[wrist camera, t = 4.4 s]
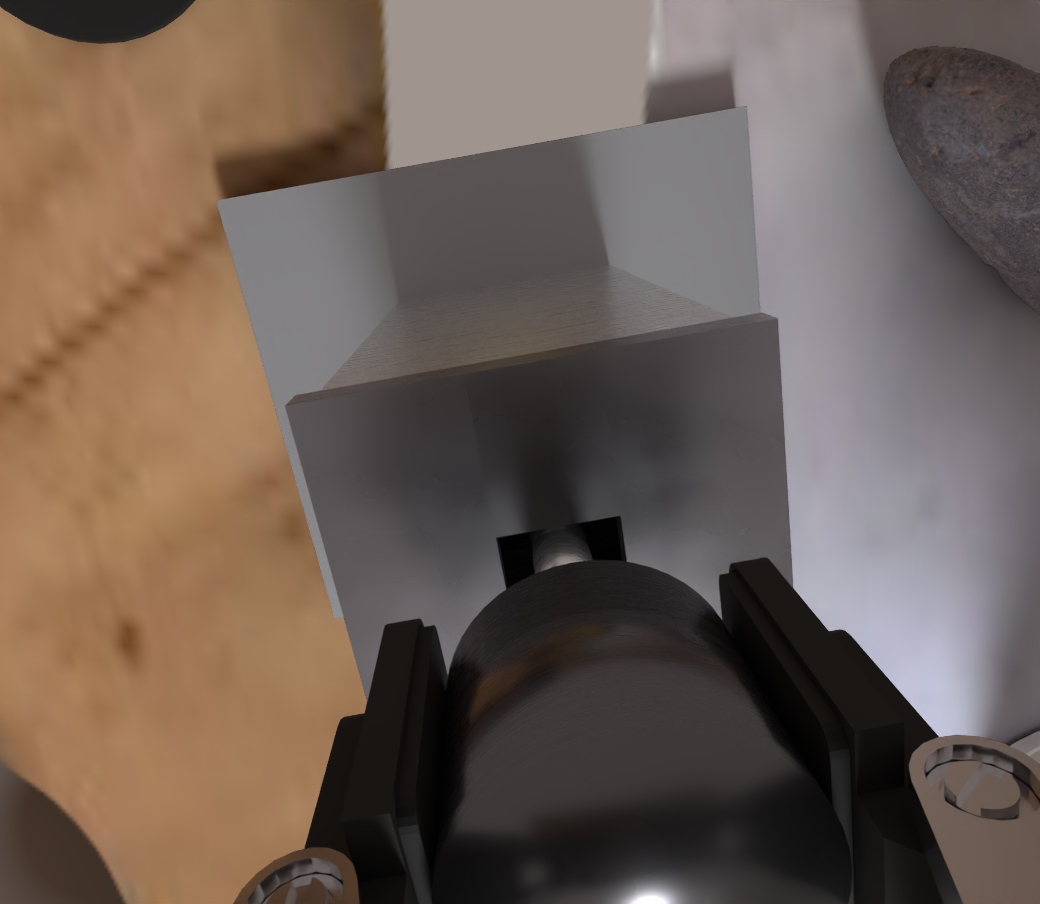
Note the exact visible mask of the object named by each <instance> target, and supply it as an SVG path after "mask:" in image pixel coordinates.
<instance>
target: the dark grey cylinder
mask: <svg viewBox="0 0 1040 904" xmlns="http://www.w3.org/2000/svg"><path fill="white" fill-rule="evenodd" d="M529 537H530V544H531V551H532V557H533V564H534V570H535V574H533V575H531V576H529V577H527V578H525V579H523V580H521V581H519V582H517V583H515V584H514V585H512V586H511V587H509V588H508V589H506V590H505V591H503V592H502V593H500V594H499V595H498V596H497V597H495V598H494V599H493V600H492V601H491V602H490V603H489V604H487V605H486V606H485V607H484V608H483V609H482V610H481V612H480V613H479V614H478V615H477V616H476V617H475V618H474V620H473V621H472V622H471V624H470V625H469V627H468V628H467V630H466V631H465V633H464V634H463V636H462V637H461V639H460V641H459V644H458V646H457V648H456V650H455V652H454V655H453V658H452V661H451V665H450V668H449V673H448V680H447V687H446V702H445V716H444V731H443V745H442V759H441V774H440V788H439V803H438V817H437V831H436V846H435V860H434V875H433V889H432V904H849V899H850V894H851V886H852V863H851V855H850V848H849V845H848V841H847V838H846V835H845V831H844V828H843V826H842V824H841V822H840V820H839V818H838V817H837V815H836V813H835V811H834V809H833V807H832V805H831V804H830V802H829V800H828V799H827V797H826V795H825V793H824V792H823V790H822V788H821V787H820V785H819V783H818V782H817V780H816V778H815V777H814V775H813V773H812V771H811V770H810V768H809V766H808V765H807V763H806V761H805V760H804V758H803V756H802V755H801V753H800V751H799V749H798V748H797V746H796V744H795V743H794V741H793V739H792V738H791V736H790V734H789V733H788V731H787V729H786V727H785V726H784V724H783V722H782V721H781V719H780V717H779V716H778V714H777V712H776V710H775V709H774V707H773V705H772V704H771V702H770V700H769V699H768V697H767V695H766V694H765V692H764V690H763V688H762V687H761V685H760V683H759V682H758V680H757V678H756V677H755V675H754V673H753V672H752V670H751V668H750V666H749V665H748V663H747V661H746V660H745V658H744V656H743V655H742V653H741V651H740V650H739V648H738V646H737V644H736V643H735V641H734V639H733V638H732V636H731V634H730V633H729V631H728V629H727V628H726V626H725V624H724V622H723V621H722V619H721V618H720V617H719V615H718V614H717V612H716V611H715V610H714V608H713V607H712V606H711V605H710V604H709V603H708V602H707V601H706V600H705V599H704V598H703V597H702V596H701V595H700V594H699V593H698V592H696V591H695V590H694V589H692V588H691V587H690V586H688V585H687V584H686V583H684V582H682V581H680V580H679V579H677V578H675V577H673V576H671V575H670V574H667V573H665V572H662V571H659V570H657V569H654V568H652V567H648V566H644V565H640V564H636V563H632V562H624V561H616V560H593V559H592V556H591V553H590V550H589V547H588V544H587V541H586V537H585V534H584V531H583V528H582V525H581V523H576V524H570V525H565V526H559V527H553V528H548V529H542V530H536V531H531V532H529Z"/></svg>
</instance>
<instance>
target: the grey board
mask: <svg viewBox="0 0 1040 904" xmlns="http://www.w3.org/2000/svg"><path fill="white" fill-rule="evenodd" d="M216 202H217V205H218V209H219V212H220V216H221V219H222V223H223V226H224V230H225V233H226V237H227V240H228V244H229V247H230V251H231V255H232V258H233V262H234V265H235V269H236V272H237V276H238V279H239V283H240V286H241V290H242V293H243V297H244V300H245V304H246V307H247V311H248V315H249V318H250V322H251V325H252V329H253V332H254V336H255V339H256V343H257V346H258V350H259V353H260V357H261V360H262V364H263V367H264V371H265V375H266V378H267V382H268V385H269V389H270V392H271V396H272V399H273V403H274V406H275V410H276V413H277V417H278V420H279V424H280V428H281V431H282V435H283V438H284V442H285V445H286V449H287V452H288V456H289V459H290V463H291V466H292V470H293V473H294V477H295V480H296V484H297V488H298V491H299V495H300V498H301V502H302V505H303V509H304V512H305V516H306V519H307V523H308V526H309V530H310V533H311V537H312V540H313V544H314V548H315V551H316V555H317V558H318V562H319V565H320V569H321V572H322V576H323V579H324V583H325V586H326V590H327V593H328V597H329V601H330V604H331V608H332V611H333V615H334V618H335V619H338V618H344V617H343V613H342V609H341V606H340V602H339V599H338V595H337V592H336V588H335V584H334V581H333V577H332V574H331V570H330V566H329V563H328V559H327V556H326V552H325V548H324V545H323V541H322V538H321V534H320V530H319V527H318V523H317V520H316V516H315V513H314V509H313V505H312V502H311V498H310V495H309V491H308V487H307V484H306V480H305V477H304V473H303V469H302V466H301V462H300V459H299V455H298V452H297V448H296V444H295V441H294V437H293V434H292V430H291V426H290V423H289V419H288V416H287V412H286V408H285V405H286V404H287V403H288V402H289V401H290V400H291V399H292V398H293V397H294V396H295V395H299V394H305V393H310V392H316V391H320V390H321V389H322V388H323V387H324V386H325V385H326V383H327V382H328V381H329V380H330V379H331V378H332V377H333V375H334V374H335V373H336V372H337V371H338V370H339V369H340V368H341V366H342V365H343V364H344V363H345V362H346V361H347V360H348V358H349V357H350V356H351V355H352V354H353V353H354V352H355V350H356V349H357V348H358V347H359V346H360V345H361V344H362V343H363V341H364V340H365V339H366V338H367V337H368V336H369V335H370V333H371V332H372V331H373V330H374V329H375V328H376V327H377V325H378V324H379V323H380V322H381V321H382V320H383V319H384V318H385V316H386V315H387V314H388V313H389V312H390V311H391V310H392V308H393V307H394V306H395V305H396V304H397V303H398V302H402V301H408V300H413V299H419V298H424V297H430V296H436V295H441V294H447V293H453V292H458V291H464V290H469V289H475V288H481V287H486V286H492V285H498V284H503V283H509V282H515V281H520V280H526V279H531V278H537V277H543V276H548V275H554V274H560V273H565V272H571V271H576V270H582V269H588V268H593V267H599V266H605V265H611V266H614V267H616V268H618V269H621V270H623V271H625V272H628V273H630V274H633V275H635V276H637V277H640V278H642V279H644V280H647V281H649V282H651V283H654V284H656V285H658V286H661V287H663V288H665V289H668V290H670V291H672V292H675V293H677V294H680V295H682V296H684V297H687V298H689V299H691V300H694V301H696V302H698V303H701V304H703V305H705V306H708V307H710V308H712V309H715V310H717V311H719V312H722V313H724V314H727V315H729V316H731V317H739V316H745V315H750V314H756V313H760V300H759V284H758V269H757V254H756V238H755V223H754V208H753V192H752V177H751V162H750V146H749V131H748V116H747V106H744V107H738V108H733V109H727V110H721V111H716V112H710V113H704V114H699V115H693V116H688V117H682V118H676V119H671V120H665V121H660V122H654V123H648V124H643V125H637V126H632V127H626V128H621V129H615V130H609V131H604V132H598V133H592V134H587V135H581V136H575V137H570V138H564V139H559V140H554V141H547V142H542V143H536V144H531V145H525V146H519V147H514V148H508V149H503V150H498V151H491V152H486V153H480V154H475V155H469V156H464V157H458V158H452V159H447V160H441V161H436V162H430V163H424V164H418V165H413V166H407V167H402V168H396V169H390V170H385V171H379V172H374V173H368V174H362V175H357V176H351V177H345V178H340V179H334V180H329V181H323V182H317V183H312V184H306V185H301V186H295V187H289V188H284V189H278V190H273V191H267V192H261V193H256V194H250V195H245V196H239V197H233V198H228V199H222V200H216Z"/></svg>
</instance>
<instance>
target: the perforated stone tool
mask: <svg viewBox="0 0 1040 904" xmlns="http://www.w3.org/2000/svg"><path fill="white" fill-rule="evenodd" d="M884 107H885V111H886V115H887V120H888V123H889V128H890V131H891V134H892V137H893V139H894V142H895V144H896V147H897V149H898V152H899V154H900V156H901V158H902V160H903V161H904V164H905V166H906V167H907V169H908V171H909V173H910V174H911V176H912V178H913V179H914V180H915V182H916V183H917V185H918V186H919V188H920V189H921V190H922V192H923V193H924V194H925V196H926V197H927V198H928V199H929V200H930V202H931V203H932V204H933V206H934V207H935V208H936V210H937V211H938V212H939V213H940V214H941V215H942V216H943V218H944V219H945V220H946V221H947V222H948V223H949V224H950V226H951V227H952V228H953V229H954V230H955V231H956V233H957V234H959V236H960V237H961V238H962V239H963V240H964V241H965V242H966V243H967V244H968V245H969V246H970V247H971V248H972V249H973V250H974V251H975V253H976V254H978V255H979V257H980V258H981V259H982V260H983V261H984V262H985V263H986V264H987V265H990V266H993V267H994V268H995V269H997V271H998V272H999V274H1000V276H1001V278H1002V279H1003V280H1004V282H1005V283H1006V284H1007V285H1008V286H1009V287H1010V288H1011V290H1012V291H1013V292H1014V293H1015V294H1016V295H1017V296H1019V297H1020V298H1021V299H1022V300H1023V301H1024V302H1025V303H1027V304H1028V305H1029V306H1030V307H1031V308H1032V309H1034V310H1035V311H1036V312H1037V313H1038V314H1040V74H1039V73H1035V72H1033V71H1031V70H1028V69H1026V68H1024V67H1022V66H1020V65H1018V64H1016V63H1014V62H1011V61H1009V60H1006V59H1004V58H1001V57H998V56H995V55H991V54H988V53H985V52H981V51H977V50H974V49H967V48H955V47H938V46H930V47H925V48H921V49H913V50H912V51H910V52H907V53H906V54H904V55H901V56H900V57H899V58H898V59H895V60H894V61H893V62H892V64H890V68H889V70H888V72H887V73H886V78H885V83H884Z"/></svg>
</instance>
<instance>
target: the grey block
mask: <svg viewBox="0 0 1040 904" xmlns="http://www.w3.org/2000/svg"><path fill="white" fill-rule="evenodd" d="M285 408H286V412H287V416H288V419H289V423H290V426H291V430H292V434H293V437H294V441H295V444H296V448H297V452H298V455H299V459H300V462H301V466H302V469H303V473H304V477H305V480H306V484H307V487H308V491H309V495H310V498H311V502H312V505H313V509H314V513H315V516H316V520H317V523H318V527H319V530H320V534H321V538H322V541H323V545H324V548H325V552H326V556H327V559H328V563H329V566H330V570H331V574H332V577H333V581H334V584H335V588H336V592H337V595H338V599H339V602H340V606H341V609H342V613H343V617H344V620H345V624H346V627H347V631H348V635H349V638H350V642H351V645H352V649H353V653H354V656H355V660H356V663H357V667H358V670H359V674H360V678H361V681H362V685H363V688H364V692H365V696H366V699H367V701H368V697H369V692H370V688H371V683H372V679H373V674H374V670H375V666H376V661H377V657H378V652H379V648H380V644H381V639H382V635H383V630H384V627H385V625H386V624H390V623H396V622H401V621H407V620H413V619H418V618H420V619H421V620H422V622H423V624H424V627H426V626H431V625H435V626H436V629H437V632H438V636H439V640H440V644H441V649H442V653H443V657H444V661H445V666H446V670H447V674H448V673H449V668H450V665H451V661H452V658H453V655H454V652H455V650H456V648H457V646H458V644H459V641H460V639H461V637H462V636H463V634H464V633H465V631H466V630H467V628H468V627H469V625H470V624H471V622H472V621H473V620H474V618H475V617H476V616H477V615H478V614H479V613H480V612H481V610H482V609H483V608H484V607H485V606H486V605H487V604H489V603H490V602H491V601H492V600H493V599H494V598H495V597H497V596H498V595H499V594H500V593H502V592H503V591H505V590H506V589H508V588H509V587H511V586H512V585H514V584H515V583H517V582H519V581H521V580H523V579H525V578H527V577H529V576H531V575H533V574H535V570H534V564H533V557H532V551H531V544H530V537H529V532H531V531H536V530H542V529H548V528H553V527H559V526H565V525H570V524H576V523H581V525H582V528H583V531H584V534H585V537H586V541H587V544H588V547H589V550H590V553H591V556H592V559H593V560H616V561H624V562H632V563H636V564H640V565H644V566H648V567H652V568H654V569H657V570H659V571H662V572H665V573H667V574H670V575H671V576H673V577H675V578H677V579H679V580H680V581H682V582H684V583H686V584H687V585H688V586H690V587H691V588H692V589H694V590H695V591H696V592H698V593H699V594H700V595H701V596H702V597H703V598H704V599H705V600H706V601H707V602H708V603H709V604H710V605H711V606H712V607H713V608H714V610H715V611H716V612H717V614H718V615H719V617H720V618H721V619H722V613H721V602H720V591H719V576H720V574H726V573H729V567H730V564H731V563H735V562H741V561H746V560H752V559H758V558H763V557H767V558H768V559H769V560H770V561H771V562H772V563H773V564H774V566H775V567H776V568H777V569H778V570H779V572H780V573H781V574H782V575H783V577H784V578H785V579H786V580H787V581H788V583H789V584H790V585H791V586H792V587H793V575H792V558H791V541H790V523H789V506H788V489H787V472H786V454H785V437H784V420H783V402H782V385H781V368H780V351H779V333H778V318H775V317H772V316H769V315H767V314H764V313H756V314H750V315H745V316H739V317H731V316H729V315H727V314H724V313H722V312H719V311H717V310H715V309H712V308H710V307H708V306H705V305H703V304H701V303H698V302H696V301H694V300H691V299H689V298H687V297H684V296H682V295H680V294H677V293H675V292H672V291H670V290H668V289H665V288H663V287H661V286H658V285H656V284H654V283H651V282H649V281H647V280H644V279H642V278H640V277H637V276H635V275H633V274H630V273H628V272H625V271H623V270H621V269H618V268H616V267H614V266H611V265H605V266H599V267H593V268H588V269H582V270H576V271H571V272H565V273H560V274H554V275H548V276H543V277H537V278H531V279H526V280H520V281H515V282H509V283H503V284H498V285H492V286H486V287H481V288H475V289H469V290H464V291H458V292H453V293H447V294H441V295H436V296H430V297H424V298H419V299H413V300H408V301H402V302H398V303H397V304H396V305H395V306H394V307H393V308H392V310H391V311H390V312H389V313H388V314H387V315H386V316H385V318H384V319H383V320H382V321H381V322H380V323H379V324H378V325H377V327H376V328H375V329H374V330H373V331H372V332H371V333H370V335H369V336H368V337H367V338H366V339H365V340H364V341H363V343H362V344H361V345H360V346H359V347H358V348H357V349H356V350H355V352H354V353H353V354H352V355H351V356H350V357H349V358H348V360H347V361H346V362H345V363H344V364H343V365H342V366H341V368H340V369H339V370H338V371H337V372H336V373H335V374H334V375H333V377H332V378H331V379H330V380H329V381H328V382H327V383H326V385H325V386H324V387H323V388H322V389H321V390H320V391H316V392H310V393H305V394H299V395H295V396H294V397H293V398H292V399H291V400H290V401H289V402H288V403H287V404H286V405H285Z"/></svg>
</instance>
